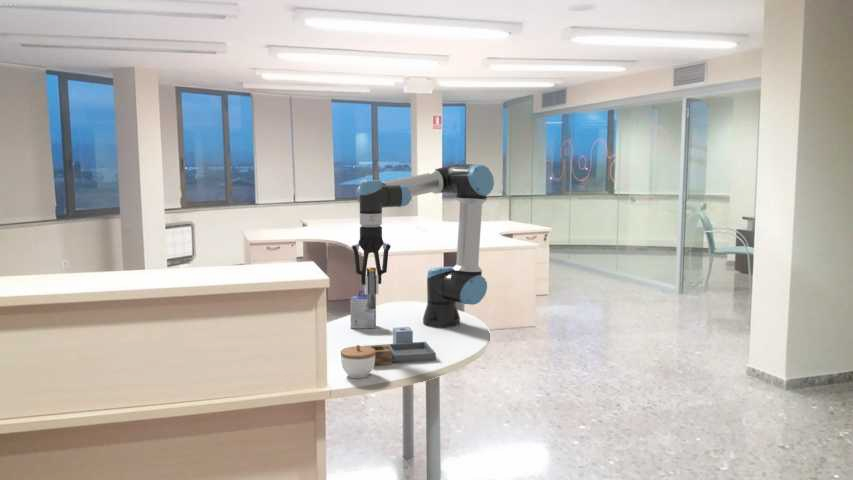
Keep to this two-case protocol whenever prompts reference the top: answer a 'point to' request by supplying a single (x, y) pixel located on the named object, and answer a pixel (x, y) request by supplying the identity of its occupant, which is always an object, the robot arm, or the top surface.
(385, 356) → the go block
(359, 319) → the ink cartridge box
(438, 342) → the top surface
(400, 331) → the block
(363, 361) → the lidded jar
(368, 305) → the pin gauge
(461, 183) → the robot arm
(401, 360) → the tray
